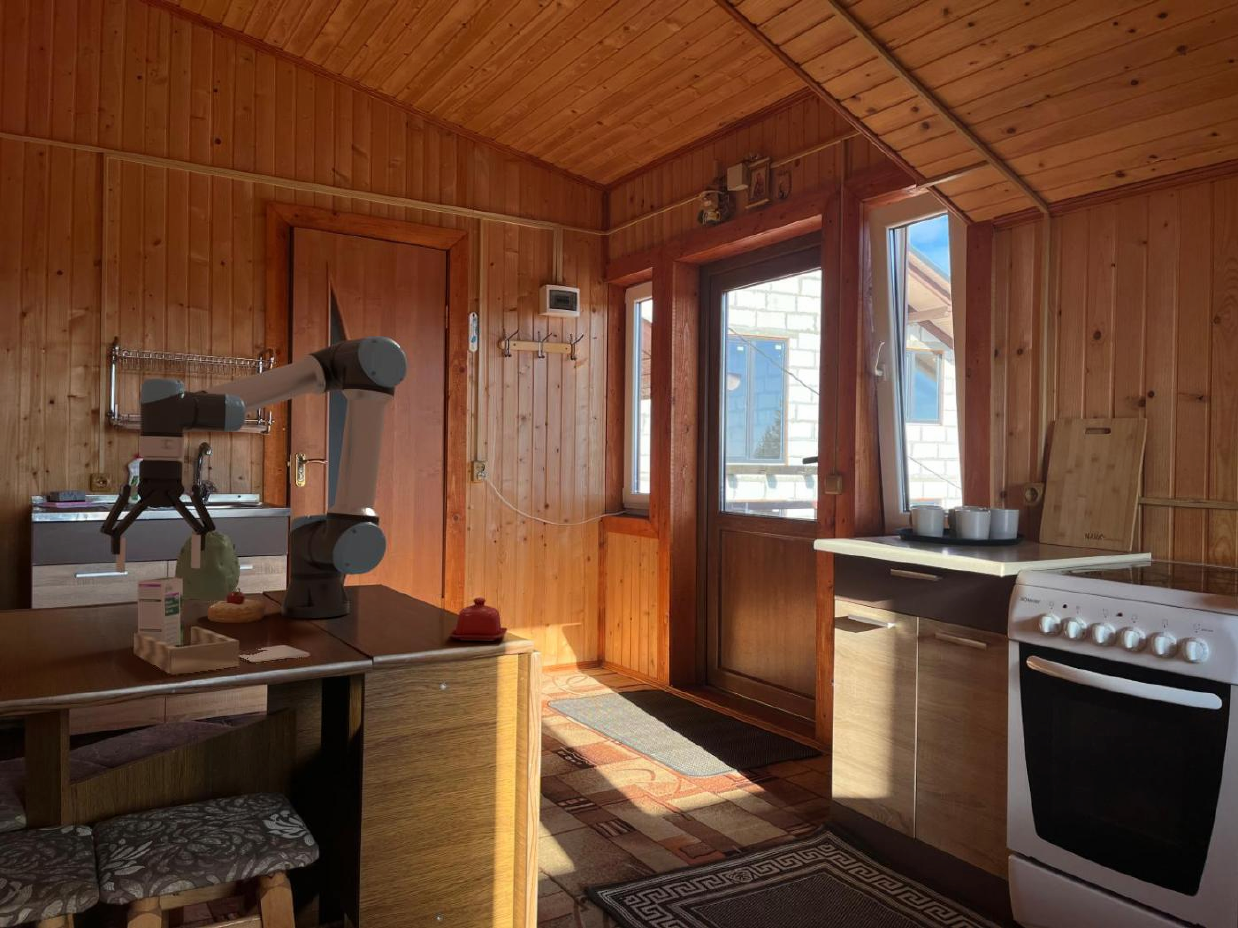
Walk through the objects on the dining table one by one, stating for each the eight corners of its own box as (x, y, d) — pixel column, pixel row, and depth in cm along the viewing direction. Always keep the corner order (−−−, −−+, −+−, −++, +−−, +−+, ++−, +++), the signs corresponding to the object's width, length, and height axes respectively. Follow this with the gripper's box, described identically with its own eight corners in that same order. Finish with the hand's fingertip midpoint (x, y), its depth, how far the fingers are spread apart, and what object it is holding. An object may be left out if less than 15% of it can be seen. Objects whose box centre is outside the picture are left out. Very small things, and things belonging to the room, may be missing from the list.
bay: (133, 660, 175) (134, 633, 175) (197, 652, 183) (197, 626, 183) (172, 678, 160) (172, 649, 160) (239, 668, 168) (239, 640, 168)
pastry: (250, 620, 220) (250, 582, 220) (273, 626, 212) (274, 587, 212) (198, 626, 212) (198, 586, 212) (220, 633, 203) (220, 592, 203)
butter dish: (508, 632, 207) (509, 594, 207) (503, 642, 196) (503, 601, 196) (456, 632, 207) (456, 594, 207) (447, 642, 195) (447, 601, 195)
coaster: (228, 656, 179) (228, 652, 179) (284, 648, 186) (284, 644, 186) (252, 665, 171) (252, 661, 171) (309, 657, 178) (309, 653, 178)
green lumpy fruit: (184, 615, 226) (184, 532, 226) (165, 605, 241) (165, 527, 241) (251, 609, 236) (251, 529, 236) (228, 600, 251) (229, 525, 251)
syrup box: (163, 657, 178) (164, 580, 178) (136, 655, 179) (137, 579, 179) (183, 651, 183) (184, 577, 183) (157, 650, 184) (157, 576, 184)
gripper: (95, 458, 170) (92, 575, 169) (234, 460, 187) (231, 567, 187) (83, 458, 175) (80, 572, 175) (219, 460, 192) (217, 564, 192)
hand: (158, 570), depth 181 cm, fingers open, 13 cm apart
